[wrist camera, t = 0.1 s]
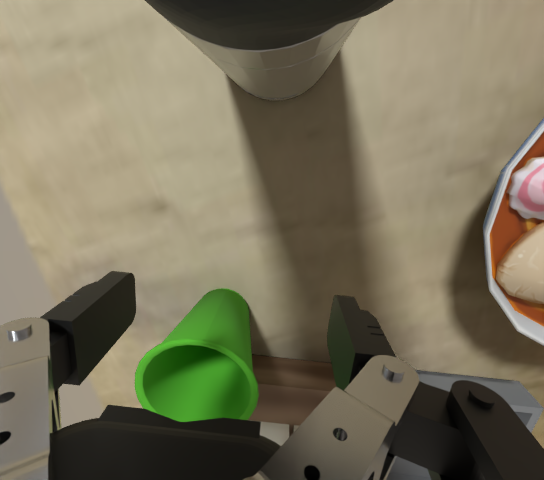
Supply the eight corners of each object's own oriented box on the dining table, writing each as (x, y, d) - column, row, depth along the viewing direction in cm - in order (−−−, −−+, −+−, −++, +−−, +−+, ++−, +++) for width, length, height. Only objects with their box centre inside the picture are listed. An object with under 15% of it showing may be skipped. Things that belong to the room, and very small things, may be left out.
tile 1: (232, 418, 32) (227, 440, 30) (289, 424, 32) (289, 447, 30) (229, 458, 34) (225, 482, 32) (283, 464, 34) (282, 488, 32)
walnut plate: (204, 349, 34) (194, 376, 31) (383, 368, 34) (395, 398, 30) (202, 450, 40) (193, 484, 36) (356, 467, 40) (364, 503, 36)
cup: (178, 336, 34) (131, 427, 24) (186, 262, 31) (135, 329, 21) (259, 351, 34) (247, 447, 24) (274, 278, 31) (268, 353, 21)
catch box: (384, 366, 34) (394, 392, 31) (518, 381, 34) (543, 408, 31) (356, 469, 40) (362, 500, 36) (471, 482, 40) (488, 514, 36)
